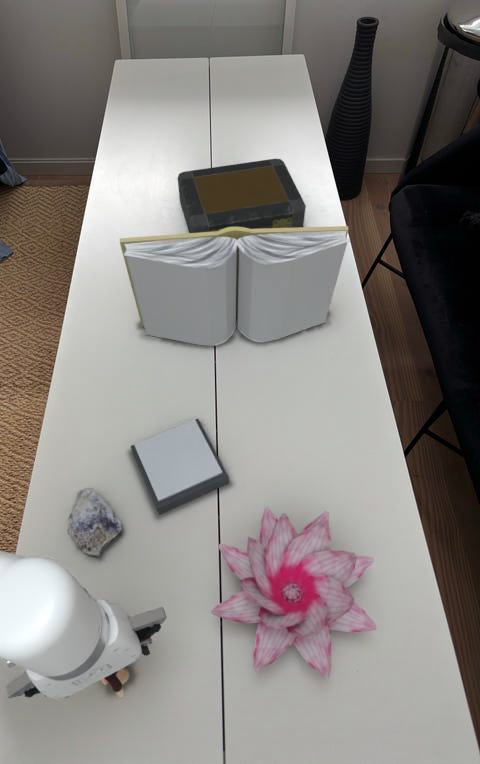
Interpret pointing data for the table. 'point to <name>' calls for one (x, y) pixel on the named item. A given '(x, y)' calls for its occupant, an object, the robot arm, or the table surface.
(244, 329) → the book
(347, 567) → the decorative flower
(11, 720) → the table surface
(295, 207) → the cash box
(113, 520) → the mineral specimen
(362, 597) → the table surface
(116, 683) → the grandmother figurine
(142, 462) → the scale
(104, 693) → the table surface
